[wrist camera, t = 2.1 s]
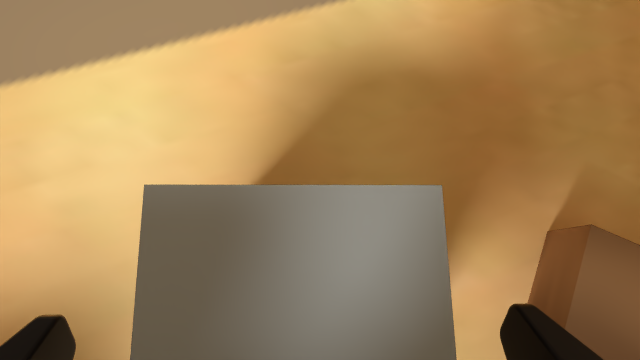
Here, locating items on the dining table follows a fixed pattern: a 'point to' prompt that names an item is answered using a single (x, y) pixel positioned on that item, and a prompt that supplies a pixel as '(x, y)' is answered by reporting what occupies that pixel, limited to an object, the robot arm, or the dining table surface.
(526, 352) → the robot arm
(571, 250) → the base brick
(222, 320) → the tower block
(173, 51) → the dining table surface
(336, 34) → the dining table surface
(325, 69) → the dining table surface
